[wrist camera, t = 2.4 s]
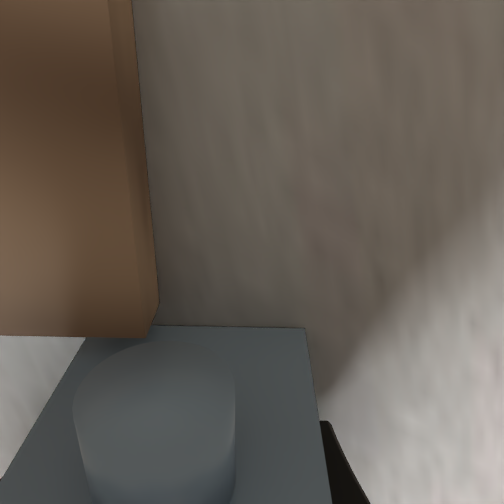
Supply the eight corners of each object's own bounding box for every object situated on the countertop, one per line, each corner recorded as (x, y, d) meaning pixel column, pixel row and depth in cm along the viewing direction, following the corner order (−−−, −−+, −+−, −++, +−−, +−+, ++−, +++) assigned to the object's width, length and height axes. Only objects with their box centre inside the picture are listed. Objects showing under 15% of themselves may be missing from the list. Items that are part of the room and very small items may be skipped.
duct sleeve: (293, 473, 14) (314, 745, 8) (119, 469, 14) (29, 737, 9) (310, 260, 11) (360, 481, 5) (82, 256, 11) (-100, 470, 5)
